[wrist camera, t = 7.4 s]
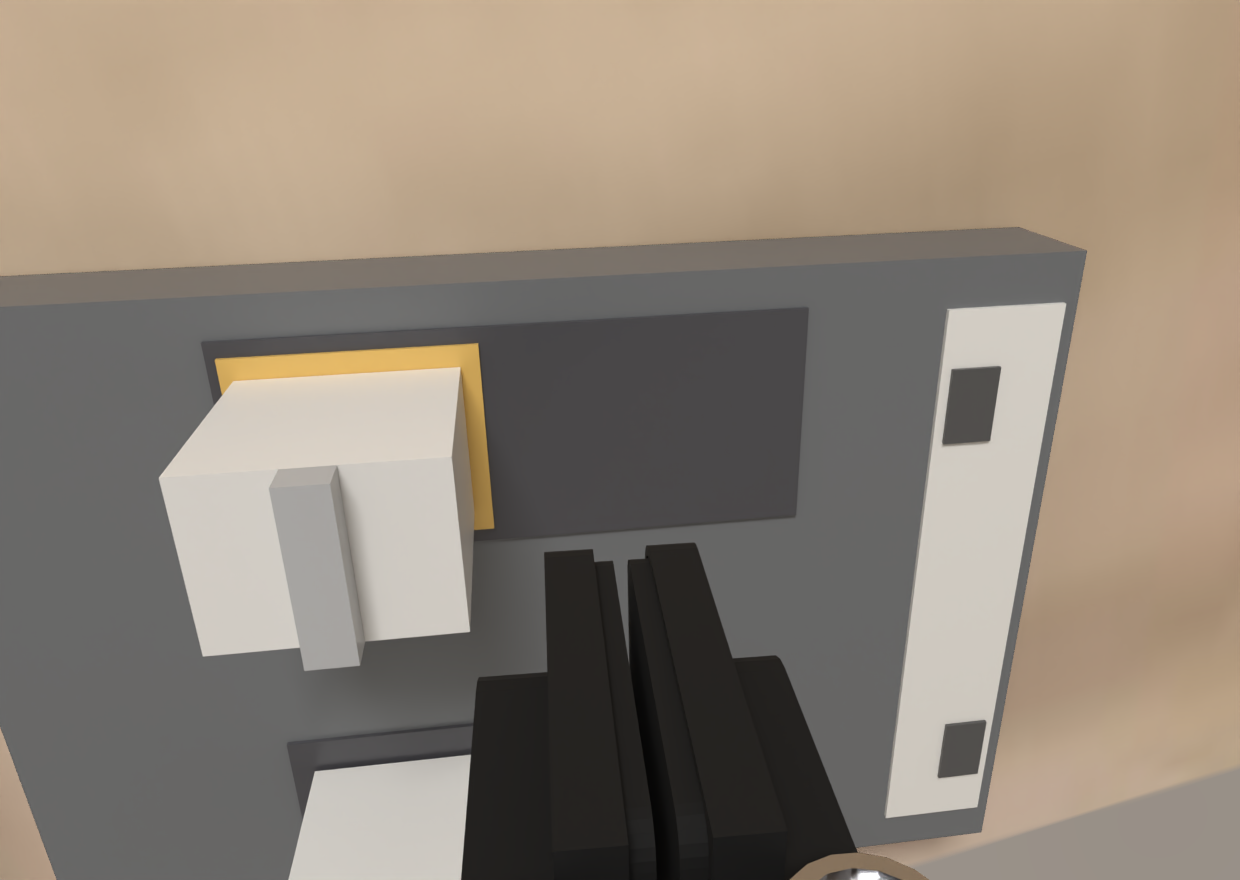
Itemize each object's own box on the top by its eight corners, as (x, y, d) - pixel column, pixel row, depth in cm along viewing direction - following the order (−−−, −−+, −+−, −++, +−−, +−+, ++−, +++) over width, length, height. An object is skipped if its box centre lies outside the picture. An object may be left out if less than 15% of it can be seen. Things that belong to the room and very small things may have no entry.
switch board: (1018, 227, 20) (1092, 252, 17) (938, 763, 26) (984, 837, 23) (-68, 279, 17) (-159, 317, 15) (120, 856, 23) (77, 950, 21)
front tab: (460, 367, 17) (449, 474, 13) (474, 512, 18) (469, 655, 14) (233, 380, 16) (143, 497, 12) (263, 529, 17) (191, 681, 13)
